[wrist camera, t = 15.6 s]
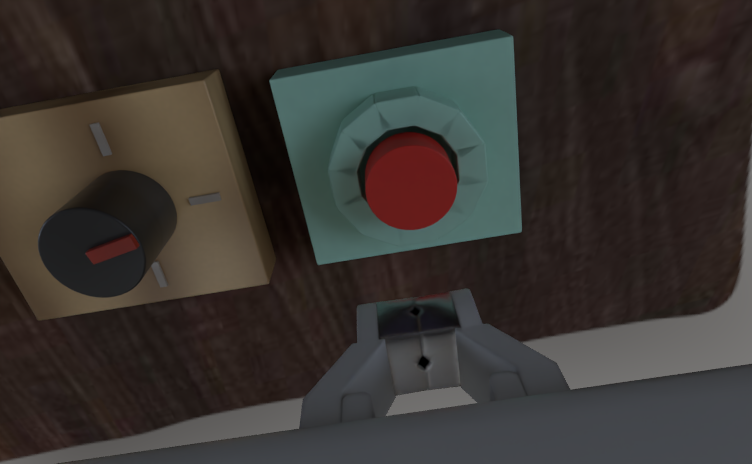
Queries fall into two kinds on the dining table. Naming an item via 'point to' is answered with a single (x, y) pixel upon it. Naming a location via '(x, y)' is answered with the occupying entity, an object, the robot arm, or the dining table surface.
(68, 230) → the dimmer knob
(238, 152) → the dimmer panel
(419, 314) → the robot arm
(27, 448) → the dining table surface
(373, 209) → the power button
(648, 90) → the dining table surface
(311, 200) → the switch block
